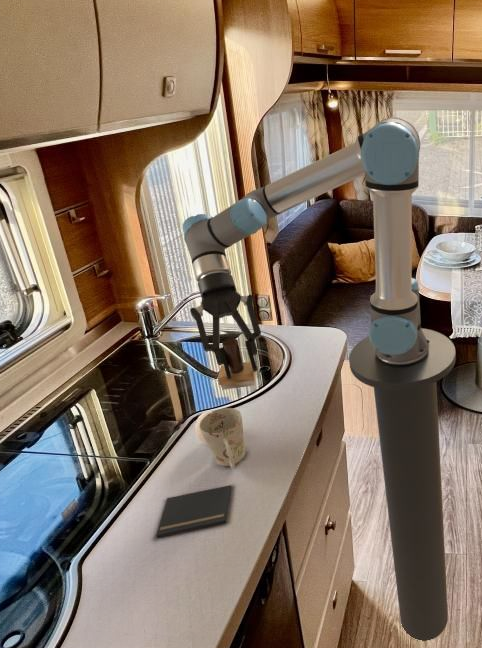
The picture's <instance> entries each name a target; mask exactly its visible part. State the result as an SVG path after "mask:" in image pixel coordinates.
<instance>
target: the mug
mask: <svg viewBox="0 0 482 648" xmlns="http://www.w3.org/2000/svg"><path fill="white" fill-rule="evenodd" d="M242 416H243V415H242V413H241V411H240V410H238V409H237V408H232V407H225V408H219V409H216V410H214V411H213V412H212V413H210V414H208V415H207V416H205V417H204V418H203V419H202V421H201V422H200V426H199V427H200V431H201V433H202V435H203V437H204V439H205V441H206V442H207V444H206V445H207V446H208V448H209V450H210V452H211V455H212V456H213V458H214V460H215V462H216V464H217V465H219V466H221V467H230V468H231V469H235V468H236V464H238V463H239V462H241V460H243V459H244V458H245V455H246V445H245V437H244V436H245V435H244V426H243V417H242Z"/></svg>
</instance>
